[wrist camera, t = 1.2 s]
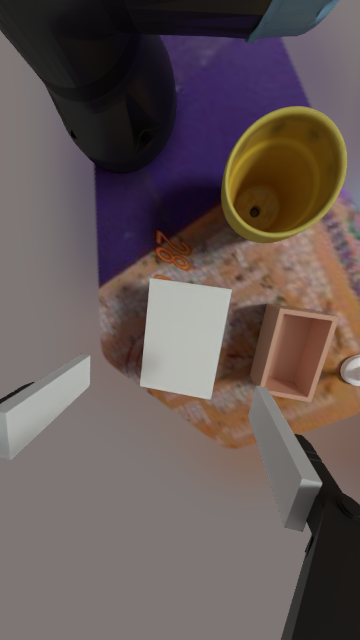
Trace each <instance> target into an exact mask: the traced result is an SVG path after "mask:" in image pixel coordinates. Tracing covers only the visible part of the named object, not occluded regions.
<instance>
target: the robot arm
mask: <svg viewBox="0 0 360 640" xmlns="http://www.w3.org/2000/svg"><path fill="white" fill-rule="evenodd" d="M338 1H339V0H0V30H1V31H2V33H3V34H4V35H5V36H6V38H7V39H8V40H9V41H10V42H11V43H12V45H13V46H14V47H15V48H16V50H17V51H18V52H19V53H20V54H21V56H22V57H23V58H24V59H25V61H27V63H28V64H29V65H30V67H32V69H33V70H34V71H35V73H36V74H37V75H38V76H39V78H40V79H41V80H42V81H43V82H44V84H45V86H46V88H47V90H48V92H49V94H50V96H51V98H52V100H53V102H54V105H55V106H56V109H57V111H58V113H59V115H60V117H61V119H62V121H63V123H64V125H65V127H66V129H67V131H68V133H69V135H70V136H71V138H72V139H73V141H74V142H75V144H76V145H77V146H78V147H79V148H80V149H81V150H82V152H83V153H84V154H85V155H86V156H87V157H88V158H89V159H90V160H91V161H92V162H94V163H95V164H96V165H98V166H100V167H101V168H103V169H106V170H109V171H113V172H130V171H134V170H137V169H139V168H142V167H143V166H145V165H147V164H148V163H149V162H151V161H152V160H153V159H154V158H155V157H156V156H157V155H158V154H159V153H160V151H161V150H162V149H163V147H164V146H165V144H166V142H167V141H168V138H169V136H170V134H171V131H172V128H173V125H174V121H175V115H176V103H177V100H176V89H175V82H174V75H173V69H172V65H171V61H170V58H169V55H168V52H167V50H166V47H165V45H164V43H163V41H162V40H161V37H160V35H179V36H211V37H229V38H243V39H244V41H245V42H248V43H253V42H254V41H255V40H257V39H258V38H271V37H284V36H298V35H301V34H304V33H306V32H308V31H309V30H311V29H313V28H314V27H315V26H316V25H318V24H319V23H320V22H321V21H322V20H323V19H324V18H325V17H326V16H327V15H328V13H329V12H330V11H331V10H332V9H333V8H334V7H335V5H336V4H337V3H338ZM89 386H90V355H85V354H80V355H79V356H77V357H75V358H74V359H72V360H71V361H69V362H67V363H66V364H64V365H62V366H61V367H59V368H58V369H56V370H54V371H53V372H51V373H50V374H48V375H46V376H45V377H43V378H42V379H40V380H38V381H37V382H32V383H29V384H26V385H24V386H22V387H20V388H18V389H17V390H15V391H14V392H12V393H10V394H8V395H7V396H5V397H3V398H2V399H0V458H4V459H8V460H11V459H12V458H13V457H15V456H16V454H18V452H20V451H21V450H22V449H23V448H24V447H25V446H26V445H27V444H28V443H29V442H30V441H31V440H33V439H34V438H35V437H36V436H37V435H38V434H39V433H40V432H41V431H42V430H43V429H44V428H45V427H46V426H47V425H48V424H49V423H51V422H52V420H54V419H55V418H56V417H57V416H58V415H59V414H60V413H61V412H62V411H63V410H64V409H65V408H66V407H68V405H70V404H71V403H72V402H73V401H74V400H75V399H76V398H77V397H78V396H79V395H80V394H81V393H82V392H83V391H84V390H86V388H88V387H89ZM248 417H249V421H250V424H251V427H252V430H253V433H254V436H255V439H256V442H257V445H258V448H259V451H260V454H261V457H262V461H263V464H264V467H265V470H266V473H267V476H268V479H269V482H270V485H271V488H272V491H273V494H274V497H275V500H276V504H277V507H278V510H279V513H280V516H281V519H282V522H283V525H284V527H285V528H289V529H293V530H298V531H301V532H303V529H304V527H305V524H306V522H307V523H308V526H309V528H310V530H311V533H312V535H311V538H310V540H309V543H308V545H307V548H306V550H305V552H306V555H305V558H304V561H303V565H302V569H301V572H300V575H299V579H298V583H297V586H296V589H295V592H294V596H293V599H292V603H291V606H290V610H289V613H288V617H287V620H286V624H285V627H284V631H283V634H282V637H281V640H360V505H359V504H358V503H357V502H356V501H354V500H353V499H352V498H351V497H349V496H347V495H345V494H344V493H342V491H341V490H340V488H339V487H338V485H337V483H336V482H335V480H334V479H333V478H332V476H331V474H330V473H329V471H328V470H327V468H326V467H325V465H324V464H323V463H322V461H321V459H320V457H319V456H318V455H317V453H316V451H315V450H314V448H313V446H312V445H311V444H310V443H309V442H308V441H307V440H306V439H305V438H304V437H303V436H302V435H298V434H294V433H293V432H292V430H291V428H290V426H289V425H288V423H287V421H286V420H285V418H284V416H283V414H282V413H281V411H280V409H279V408H278V406H277V404H276V402H275V401H274V399H273V397H272V396H271V394H270V392H269V390H268V389H267V387H261V386H256V388H255V392H254V396H253V400H252V404H251V408H250V412H249V416H248Z"/></svg>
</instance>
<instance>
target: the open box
mask: <svg viewBox="0 0 360 640" xmlns="http://www.w3.org/2000/svg"><path fill="white" fill-rule="evenodd" d="M338 320H339V317H338V316H334V315H331V314H327V313H323V312H319V311H316V310H309V309H302V308H295V307H288V306H281V305H274V304H267V305H266V309H265V314H264V318H263V322H262V326H261V330H260V334H259V339H258V343H257V347H256V351H255V355H254V359H253V364H252V368H251V372H250V376H251V378H252V380H253V382H254V384H255V386H261V387H267V389H268V390H269V392H270V394H271V395H274V396H280V397H285V398H291V399H296V400H301V401H307V402H311V401H312V398H313V395H314V392H315V389H316V386H317V383H318V380H319V377H320V374H321V371H322V368H323V365H324V362H325V359H326V356H327V353H328V350H329V347H330V344H331V341H332V338H333V335H334V332H335V329H336V326H337V323H338Z"/></svg>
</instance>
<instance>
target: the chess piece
mask: <svg viewBox="0 0 360 640" xmlns="http://www.w3.org/2000/svg"><path fill="white" fill-rule="evenodd" d="M340 372H341V376H342V378H343V379H344V380H345V381H346V382H348V383H350V384H352V385H355V386H360V355H355V356H352V357H350V358H348V359H347V360H345V362H344V363H343V364H342V366H341V370H340Z"/></svg>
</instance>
